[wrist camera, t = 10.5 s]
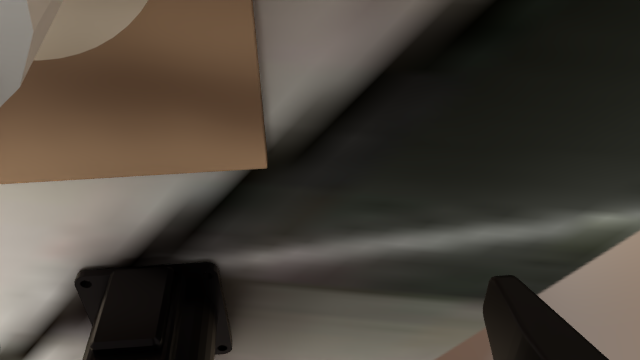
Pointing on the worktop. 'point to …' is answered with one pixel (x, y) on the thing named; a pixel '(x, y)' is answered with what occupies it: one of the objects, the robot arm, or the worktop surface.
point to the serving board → (138, 93)
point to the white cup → (21, 39)
